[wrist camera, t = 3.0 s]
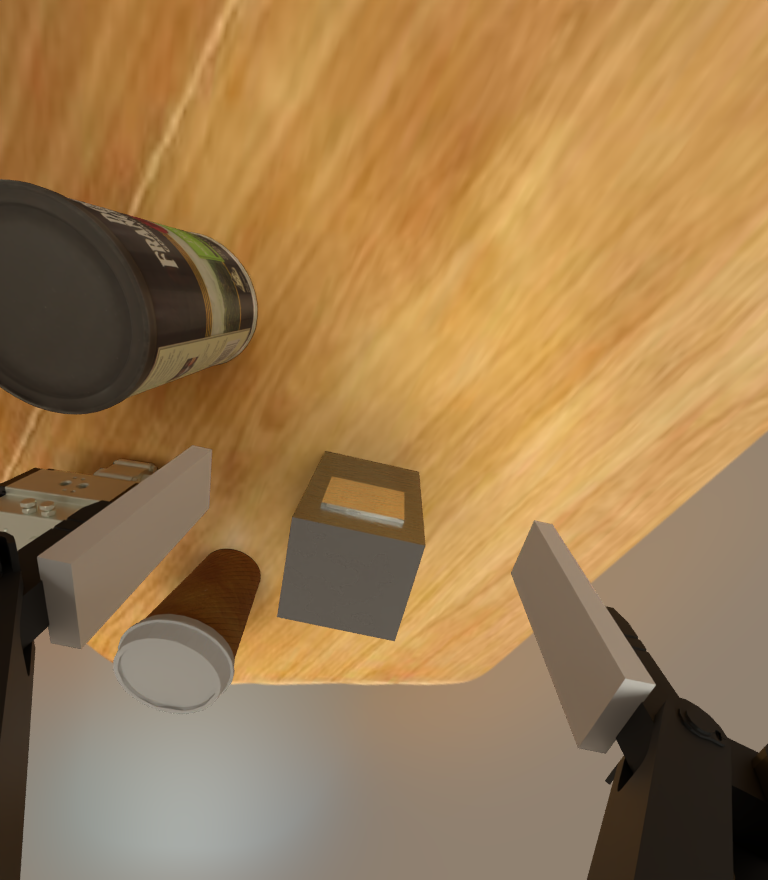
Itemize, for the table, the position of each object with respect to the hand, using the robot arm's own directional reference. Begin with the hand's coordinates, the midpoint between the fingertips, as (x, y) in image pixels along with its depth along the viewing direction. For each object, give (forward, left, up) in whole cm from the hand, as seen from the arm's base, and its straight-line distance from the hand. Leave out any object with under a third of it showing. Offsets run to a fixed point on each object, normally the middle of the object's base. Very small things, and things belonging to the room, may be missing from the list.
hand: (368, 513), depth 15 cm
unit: (0, -11, -19) cm, 22 cm away
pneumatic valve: (-22, -13, -19) cm, 32 cm away
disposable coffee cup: (-12, -23, -19) cm, 32 cm away
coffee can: (-17, +4, -19) cm, 26 cm away
